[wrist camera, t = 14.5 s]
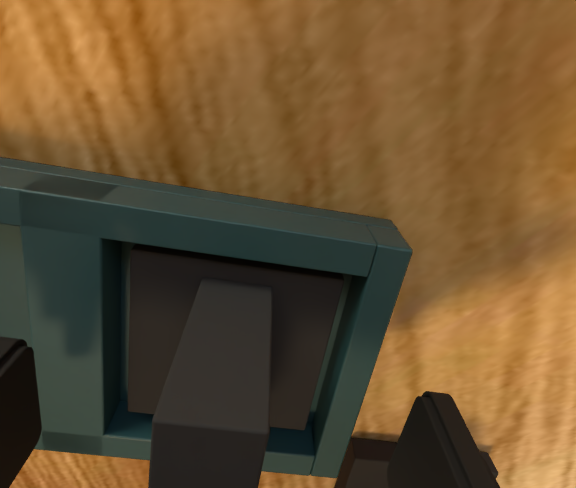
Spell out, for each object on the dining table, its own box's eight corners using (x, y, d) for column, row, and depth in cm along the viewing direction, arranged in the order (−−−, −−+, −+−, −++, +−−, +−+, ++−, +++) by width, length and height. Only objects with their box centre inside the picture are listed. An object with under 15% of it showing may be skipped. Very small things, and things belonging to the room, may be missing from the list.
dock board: (391, 219, 13) (414, 250, 10) (329, 425, 16) (337, 479, 14) (-242, 117, 11) (-366, 130, 9) (-155, 372, 14) (-228, 424, 12)
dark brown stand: (340, 264, 12) (391, 424, 7) (303, 408, 15) (318, 613, 9) (141, 235, 12) (22, 383, 6) (136, 389, 14) (47, 595, 9)
